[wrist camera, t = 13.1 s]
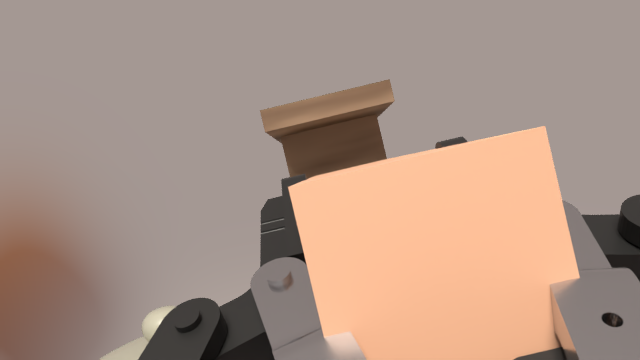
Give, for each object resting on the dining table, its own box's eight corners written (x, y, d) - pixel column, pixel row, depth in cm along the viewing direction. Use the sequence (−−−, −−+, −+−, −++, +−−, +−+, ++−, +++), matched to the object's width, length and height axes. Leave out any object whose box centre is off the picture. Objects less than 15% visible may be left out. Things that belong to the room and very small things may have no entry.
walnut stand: (502, 560, 30) (389, 79, 29) (375, 589, 30) (260, 110, 30) (447, 442, 43) (368, 107, 42) (359, 463, 43) (278, 128, 43)
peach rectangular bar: (603, 381, 7) (545, 125, 7) (348, 440, 7) (287, 187, 7) (390, 222, 28) (375, 161, 28) (328, 237, 28) (314, 176, 28)
